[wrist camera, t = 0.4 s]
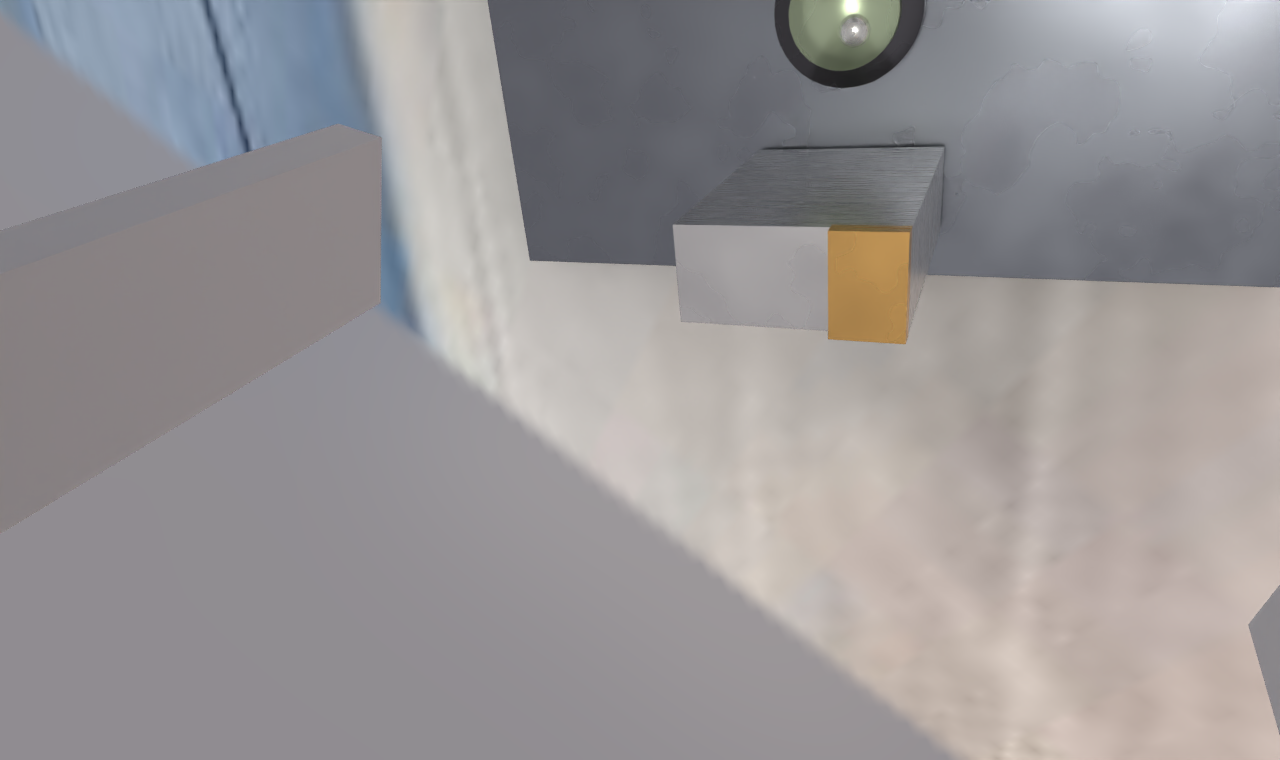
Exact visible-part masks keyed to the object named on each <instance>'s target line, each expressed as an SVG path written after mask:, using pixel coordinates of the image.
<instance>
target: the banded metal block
mask: <svg viewBox="0 0 1280 760" xmlns="http://www.w3.org/2000/svg"><path fill="white" fill-rule="evenodd" d="M944 149H945V147H895V148H837V149H779V150H758V151H757V152H756V153H755V154H754V155H753V156H751V157H750V158H749V159H748V160H747V161H746V162H744V163H743V164H742V165H741V166H740V167H739V168H738V169H736V170H735V171H734V172H733V173H732V174H731V175H729V176H728V177H727V178H726V179H725V180H724V181H723V182H721V183H720V184H719V185H718V186H717V187H716V188H714V189H713V190H712V191H711V192H710V193H709V194H707V195H706V196H705V197H704V198H703V199H702V200H701V201H699V202H698V203H697V204H696V205H695V206H694V207H692V208H691V209H690V210H689V211H688V212H687V213H685V214H684V215H683V216H682V217H681V218H680V219H679V220H677V221H676V222H675V223H674V224H673V234H674V246H675V258H676V269H677V281H678V293H679V304H680V316H681V322H696V323H712V324H728V325H745V326H761V327H777V328H793V329H809V330H826V331H828V339H834V340H849V341H864V342H880V343H895V344H906V341H907V338H908V333H909V330H910V327H911V324H912V320H913V317H914V314H915V311H916V307H917V304H918V301H919V298H920V294H921V291H922V288H923V285H924V282H925V278H926V275H927V272H928V269H929V265H930V262H931V259H932V256H933V252H934V249H935V246H936V243H937V239H938V236H939V233H940V224H941V205H942V187H943V168H944Z"/></svg>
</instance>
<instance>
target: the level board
mask: <svg viewBox="0 0 1280 760" xmlns="http://www.w3.org/2000/svg"><path fill="white" fill-rule="evenodd" d="M488 6H489V12H490V18H491V24H492V30H493V36H494V42H495V48H496V55H497V61H498V67H499V73H500V79H501V85H502V91H503V98H504V104H505V110H506V116H507V122H508V128H509V134H510V141H511V147H512V153H513V159H514V165H515V171H516V177H517V183H518V190H519V196H520V202H521V208H522V214H523V220H524V226H525V233H526V239H527V245H528V251H529V257H530V260H531V261H559V262H587V263H615V264H643V265H671V266H676V258H675V246H674V234H673V224H674V223H675V222H676V221H677V220H679V219H680V218H681V217H682V216H683V215H684V214H685V213H687V212H688V211H689V210H690V209H691V208H692V207H694V206H695V205H696V204H697V203H698V202H699V201H701V200H702V199H703V198H704V197H705V196H706V195H707V194H709V193H710V192H711V191H712V190H713V189H714V188H716V187H717V186H718V185H719V184H720V183H721V182H723V181H724V180H725V179H726V178H727V177H728V176H729V175H731V174H732V173H733V172H734V171H735V170H736V169H738V168H739V167H740V166H741V165H742V164H743V163H744V162H746V161H747V160H748V159H749V158H750V157H751V156H753V155H754V154H755V153H756V152H757V151H758V150H779V149H837V148H895V147H945V149H944V168H943V187H942V205H941V224H940V233H939V236H938V239H937V243H936V246H935V249H934V252H933V256H932V259H931V262H930V265H929V269H928V272H927V275H950V276H977V277H1005V278H1033V279H1061V280H1089V281H1117V282H1145V283H1173V284H1200V285H1228V286H1256V287H1280V0H488Z"/></svg>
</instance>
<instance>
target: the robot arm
mask: <svg viewBox="0 0 1280 760" xmlns="http://www.w3.org/2000/svg"><path fill="white" fill-rule="evenodd" d="M381 155H382V138H381V137H378V136H375V135H372V134H369V133H366V132H362V131H359V130H356V129H353V128H350V127H347V126H344V125H340V124H336V125H333V126H330V127H326V128H323V129H320V130H317V131H314V132H311V133H307V134H304V135H301V136H298V137H295V138H292V139H288V140H285V141H282V142H279V143H276V144H273V145H269V146H266V147H263V148H260V149H257V150H254V151H250V152H247V153H244V154H241V155H238V156H235V157H231V158H228V159H225V160H222V161H219V162H216V163H212V164H209V165H206V166H203V167H200V168H197V169H193V170H190V171H187V172H184V173H181V174H178V175H174V176H171V177H168V178H165V179H162V180H159V181H155V182H152V183H149V184H146V185H143V186H140V187H136V188H133V189H130V190H127V191H124V192H121V193H117V194H114V195H111V196H108V197H105V198H102V199H99V200H95V201H92V202H89V203H86V204H83V205H79V206H77V207H73V208H70V209H67V210H64V211H60V212H57V213H54V214H51V215H48V216H45V217H41V218H38V219H35V220H32V221H29V222H26V223H22V224H20V225H16V226H13V227H10V228H7V229H4V230H0V534H1V533H2V532H4V531H5V530H7V529H9V528H11V527H12V526H14V525H16V524H17V523H19V522H20V521H22V520H24V519H25V518H27V517H29V516H30V515H32V514H34V513H35V512H37V511H39V510H40V509H42V508H44V507H45V506H47V505H49V504H50V503H52V502H54V501H55V500H57V499H58V498H60V497H62V496H63V495H65V494H67V493H68V492H70V491H72V490H73V489H75V488H76V487H78V486H80V485H81V484H83V483H85V482H86V481H88V480H90V479H91V478H93V477H95V476H96V475H98V474H100V473H101V472H103V471H104V470H106V469H108V468H109V467H111V466H113V465H114V464H116V463H118V462H119V461H121V460H123V459H124V458H126V457H128V456H129V455H131V454H132V453H134V452H136V451H138V450H139V449H141V448H142V447H144V446H146V445H147V444H149V443H151V442H152V441H154V440H156V439H157V438H159V437H160V436H162V435H164V434H166V433H167V432H169V431H170V430H172V429H174V428H175V427H177V426H179V425H180V424H182V423H184V422H185V421H187V420H189V419H190V418H192V417H194V416H195V415H197V414H198V413H200V412H202V411H203V410H205V409H207V408H208V407H210V406H212V405H213V404H215V403H217V402H218V401H220V400H222V399H223V398H225V397H226V396H228V395H230V394H231V393H233V392H235V391H236V390H238V389H240V388H241V387H243V386H244V385H246V384H248V383H250V382H251V381H253V380H254V379H256V378H258V377H259V376H261V375H263V374H264V373H266V372H268V371H269V370H271V369H273V368H274V367H276V366H277V365H279V364H281V363H282V362H284V361H286V360H287V359H289V358H291V357H292V356H294V355H296V354H297V353H299V352H301V351H302V350H304V349H306V348H307V347H309V346H310V345H312V344H314V343H315V342H317V341H319V340H320V339H322V338H324V337H325V336H327V335H328V334H330V333H332V332H333V331H335V330H337V329H338V328H340V327H342V326H343V325H345V324H347V323H348V322H350V321H352V320H353V319H355V318H357V317H358V316H360V315H361V314H363V313H365V312H366V311H368V310H370V309H371V308H373V307H375V306H376V305H378V304H380V303H381ZM1249 629H1250V632H1251V636H1252V639H1253V643H1254V646H1255V650H1256V653H1257V657H1258V660H1259V664H1260V667H1261V671H1262V674H1263V678H1264V681H1265V685H1266V688H1267V692H1268V695H1269V699H1270V702H1271V706H1272V709H1273V713H1274V716H1275V720H1276V723H1277V727H1278V730H1279V734H1280V585H1279V586H1278V588H1277V589H1276V590H1275V592H1274V593H1273V594H1272V595H1271V597H1270V598H1269V599H1268V600H1267V602H1266V603H1265V604H1264V605H1263V607H1262V608H1261V609H1260V611H1259V612H1258V613H1257V614H1256V616H1255V617H1254V618H1253V619H1252V621H1251V622H1250V623H1249Z"/></svg>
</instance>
